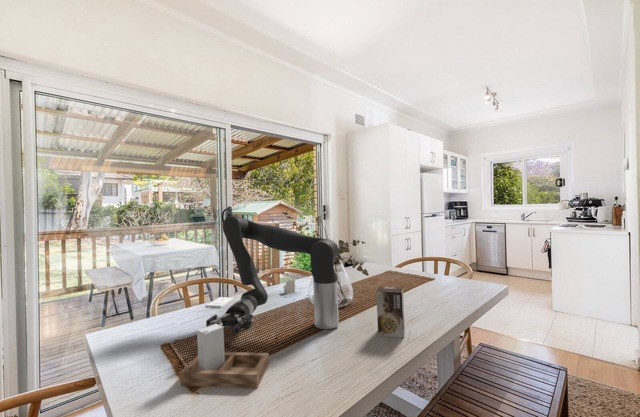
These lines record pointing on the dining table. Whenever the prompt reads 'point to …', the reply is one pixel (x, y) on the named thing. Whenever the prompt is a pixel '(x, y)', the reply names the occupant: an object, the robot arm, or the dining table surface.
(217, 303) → the external hard drive
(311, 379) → the dining table surface
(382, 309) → the grey brown upright block
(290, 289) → the architectural model
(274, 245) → the robot arm
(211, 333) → the skincare box
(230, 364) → the wooden compartment tray
